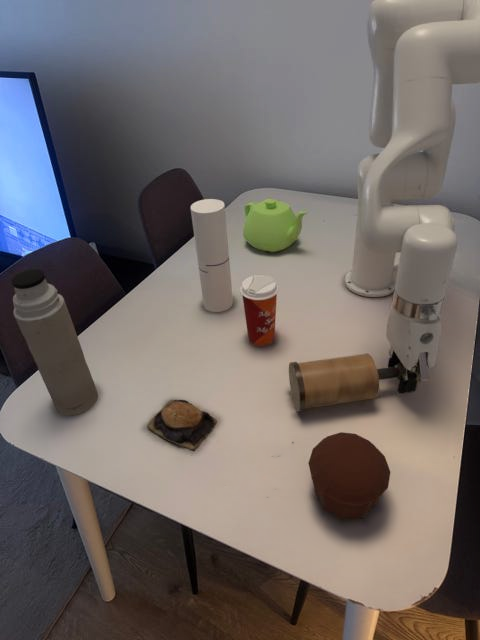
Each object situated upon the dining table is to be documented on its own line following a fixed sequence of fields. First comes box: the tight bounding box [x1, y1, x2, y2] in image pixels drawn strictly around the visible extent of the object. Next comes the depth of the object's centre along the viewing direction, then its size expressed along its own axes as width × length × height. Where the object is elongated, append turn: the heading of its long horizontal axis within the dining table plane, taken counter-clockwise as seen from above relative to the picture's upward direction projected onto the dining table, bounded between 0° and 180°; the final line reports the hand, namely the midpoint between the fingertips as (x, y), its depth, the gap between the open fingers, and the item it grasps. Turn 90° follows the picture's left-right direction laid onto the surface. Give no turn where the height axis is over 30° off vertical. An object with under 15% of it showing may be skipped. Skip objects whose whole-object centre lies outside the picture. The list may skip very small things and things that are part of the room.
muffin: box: [308, 432, 391, 521], centre depth 66 cm, size 12×11×10 cm
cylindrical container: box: [190, 198, 234, 313], centre depth 104 cm, size 7×7×25 cm
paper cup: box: [239, 274, 279, 347], centre depth 96 cm, size 8×8×14 cm
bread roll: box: [146, 399, 218, 451], centre depth 81 cm, size 11×8×4 cm
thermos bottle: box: [11, 268, 99, 416], centre depth 80 cm, size 8×8×28 cm
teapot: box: [242, 198, 309, 253], centre depth 129 cm, size 22×15×13 cm
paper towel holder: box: [288, 353, 414, 412], centre depth 82 cm, size 9×9×22 cm
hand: (400, 381), depth 85 cm, fingers open, 4 cm apart
